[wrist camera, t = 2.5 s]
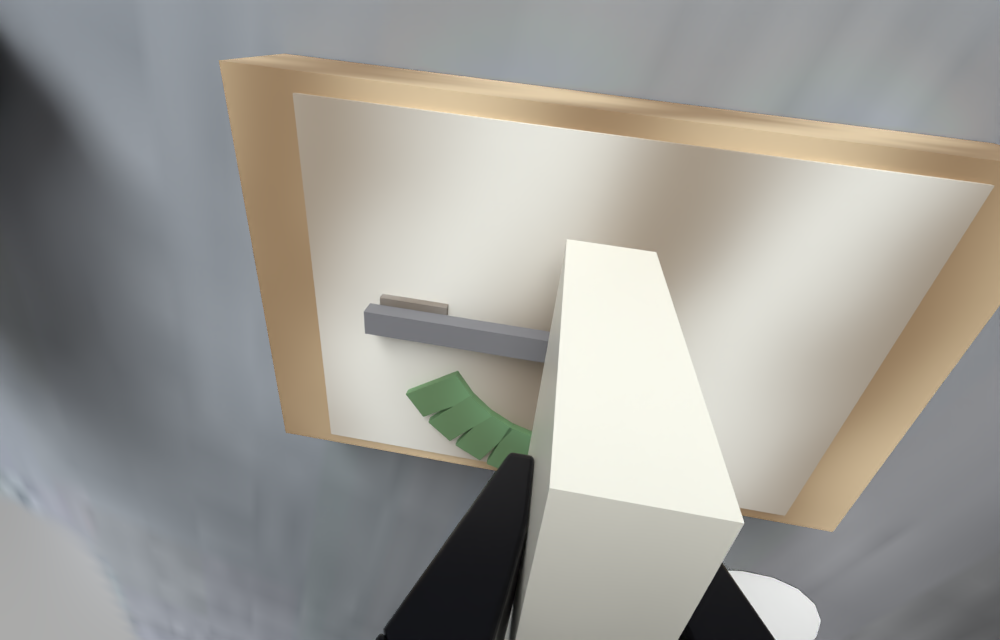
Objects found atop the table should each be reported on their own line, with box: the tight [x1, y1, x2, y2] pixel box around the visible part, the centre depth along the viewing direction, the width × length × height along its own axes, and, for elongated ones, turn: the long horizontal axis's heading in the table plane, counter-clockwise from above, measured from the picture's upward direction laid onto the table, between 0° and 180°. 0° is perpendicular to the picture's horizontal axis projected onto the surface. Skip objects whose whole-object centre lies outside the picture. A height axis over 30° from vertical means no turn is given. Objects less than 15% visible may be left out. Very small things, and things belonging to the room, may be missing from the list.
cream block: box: [364, 239, 744, 640], centre depth 9 cm, size 6×6×7 cm
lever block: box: [219, 54, 1000, 532], centre depth 13 cm, size 16×10×3 cm, turn 83°
